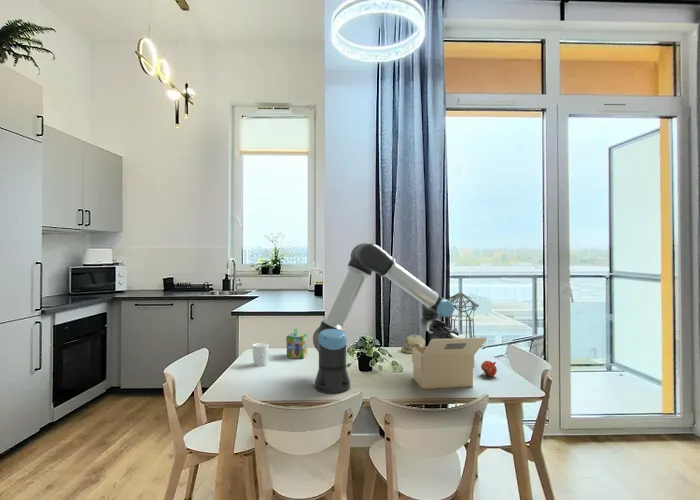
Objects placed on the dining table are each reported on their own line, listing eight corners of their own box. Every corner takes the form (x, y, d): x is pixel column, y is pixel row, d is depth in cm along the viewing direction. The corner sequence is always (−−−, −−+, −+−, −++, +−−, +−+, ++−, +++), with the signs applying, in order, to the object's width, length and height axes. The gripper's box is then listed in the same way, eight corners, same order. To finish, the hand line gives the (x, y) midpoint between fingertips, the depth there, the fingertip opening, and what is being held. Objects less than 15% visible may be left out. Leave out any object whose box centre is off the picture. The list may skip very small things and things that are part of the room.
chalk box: (302, 359, 217) (302, 331, 217) (286, 358, 218) (286, 330, 218) (307, 354, 226) (307, 327, 226) (291, 353, 227) (291, 326, 227)
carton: (420, 389, 172) (420, 355, 172) (411, 378, 186) (411, 347, 186) (474, 387, 175) (474, 354, 175) (461, 376, 189) (461, 345, 189)
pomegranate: (486, 384, 185) (504, 370, 185) (476, 370, 186) (493, 357, 186) (482, 380, 192) (499, 367, 193) (472, 367, 193) (489, 354, 193)
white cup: (270, 365, 205) (270, 345, 205) (253, 367, 202) (253, 347, 202) (267, 361, 212) (267, 342, 212) (251, 363, 209) (251, 343, 209)
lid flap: (422, 354, 171) (422, 356, 171) (431, 339, 160) (431, 340, 159) (474, 353, 174) (474, 354, 174) (486, 337, 163) (487, 339, 162)
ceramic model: (423, 348, 239) (423, 331, 239) (430, 353, 228) (430, 335, 228) (399, 349, 237) (399, 332, 237) (405, 354, 226) (405, 336, 226)
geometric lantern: (471, 355, 225) (471, 291, 224) (479, 363, 209) (479, 294, 208) (441, 355, 225) (442, 291, 224) (448, 363, 209) (448, 294, 209)
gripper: (450, 335, 190) (473, 348, 167) (423, 336, 188) (442, 350, 165) (450, 319, 190) (473, 330, 166) (423, 320, 188) (442, 331, 165)
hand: (457, 340), depth 166 cm, fingers closed
